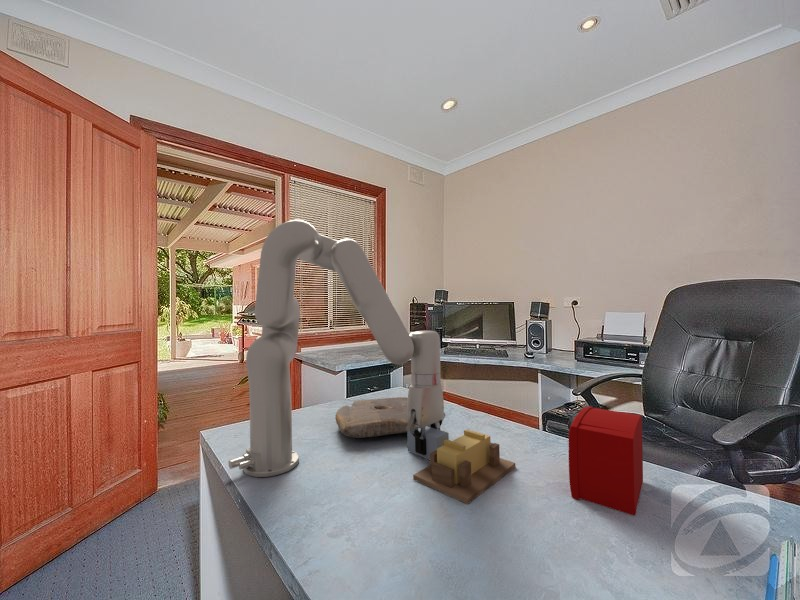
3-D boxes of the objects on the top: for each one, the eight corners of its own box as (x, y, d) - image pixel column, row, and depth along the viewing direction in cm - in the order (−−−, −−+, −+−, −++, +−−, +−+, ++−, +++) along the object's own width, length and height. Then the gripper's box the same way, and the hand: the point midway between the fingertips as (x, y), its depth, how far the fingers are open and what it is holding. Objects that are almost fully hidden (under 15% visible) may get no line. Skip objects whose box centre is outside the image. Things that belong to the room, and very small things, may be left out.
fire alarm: (587, 466, 81) (585, 401, 81) (643, 480, 74) (641, 410, 74) (569, 497, 68) (567, 421, 68) (634, 518, 61) (632, 433, 61)
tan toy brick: (456, 484, 72) (456, 450, 72) (437, 476, 75) (436, 444, 75) (490, 461, 82) (490, 431, 82) (472, 455, 85) (471, 426, 85)
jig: (467, 504, 66) (467, 475, 66) (413, 479, 76) (412, 454, 76) (515, 467, 81) (515, 443, 81) (464, 450, 91) (464, 429, 91)
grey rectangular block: (437, 462, 84) (437, 438, 84) (407, 451, 91) (407, 428, 91) (448, 456, 87) (448, 432, 87) (418, 445, 94) (418, 423, 94)
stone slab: (445, 436, 101) (444, 414, 101) (345, 451, 91) (345, 428, 91) (407, 407, 130) (406, 390, 130) (328, 416, 120) (328, 398, 120)
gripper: (435, 371, 98) (436, 436, 98) (392, 382, 86) (393, 456, 86) (457, 375, 93) (458, 444, 92) (414, 387, 80) (416, 466, 80)
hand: (427, 449), depth 89 cm, fingers closed on grey rectangular block, 4 cm apart
